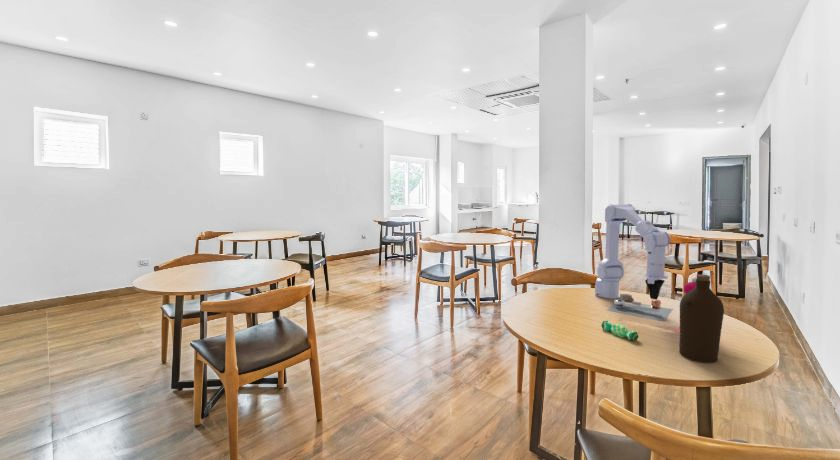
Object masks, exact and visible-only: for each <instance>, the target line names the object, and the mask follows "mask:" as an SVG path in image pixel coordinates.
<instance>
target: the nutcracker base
mask: <svg viewBox="0 0 840 460" xmlns="http://www.w3.org/2000/svg"><path fill="white" fill-rule="evenodd" d="M626 297H632V298H633V295H632V294H630V293H619V299H622V300H624V301H625V298H626ZM641 305H645V306H651V304H645V303H641ZM673 310H674V309H673V308H668V307H663V306H662V307H661V306H660V309H659V312H654V311H649V310H643V309H638V308H632V307H626V306H617V305H614V304H613V305H611V306H610V307H608V308H607V309H606V311H607V312H612V313H613V312H614V313H618V314H623V315H629V316H633V317H637V318H638V317H639V318H643V319H644V318H645V319H649V320H655V321H660V322H665V321H666V319H667V318H668V317H669V316H670V314H671V313H672V311H673Z"/></svg>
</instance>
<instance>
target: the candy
mask: <svg viewBox="0 0 840 460" xmlns="http://www.w3.org/2000/svg"><path fill="white" fill-rule="evenodd" d="M601 328H602V330H603V331H606V332H607V331H610V332H611V334H613V335H615V336H617V337H620V338H625V337H626V338H627V339H628V340H629V341H631V342H633V341H638V339H639V334H638V332H637V331H634V330H630V331H628V328H627V326H625V325H624V326H623V325H621V324H618V323H614V324H612V323H611V322H610V321H609V320H603V321H602V323H601ZM632 340H633V341H632Z"/></svg>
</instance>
